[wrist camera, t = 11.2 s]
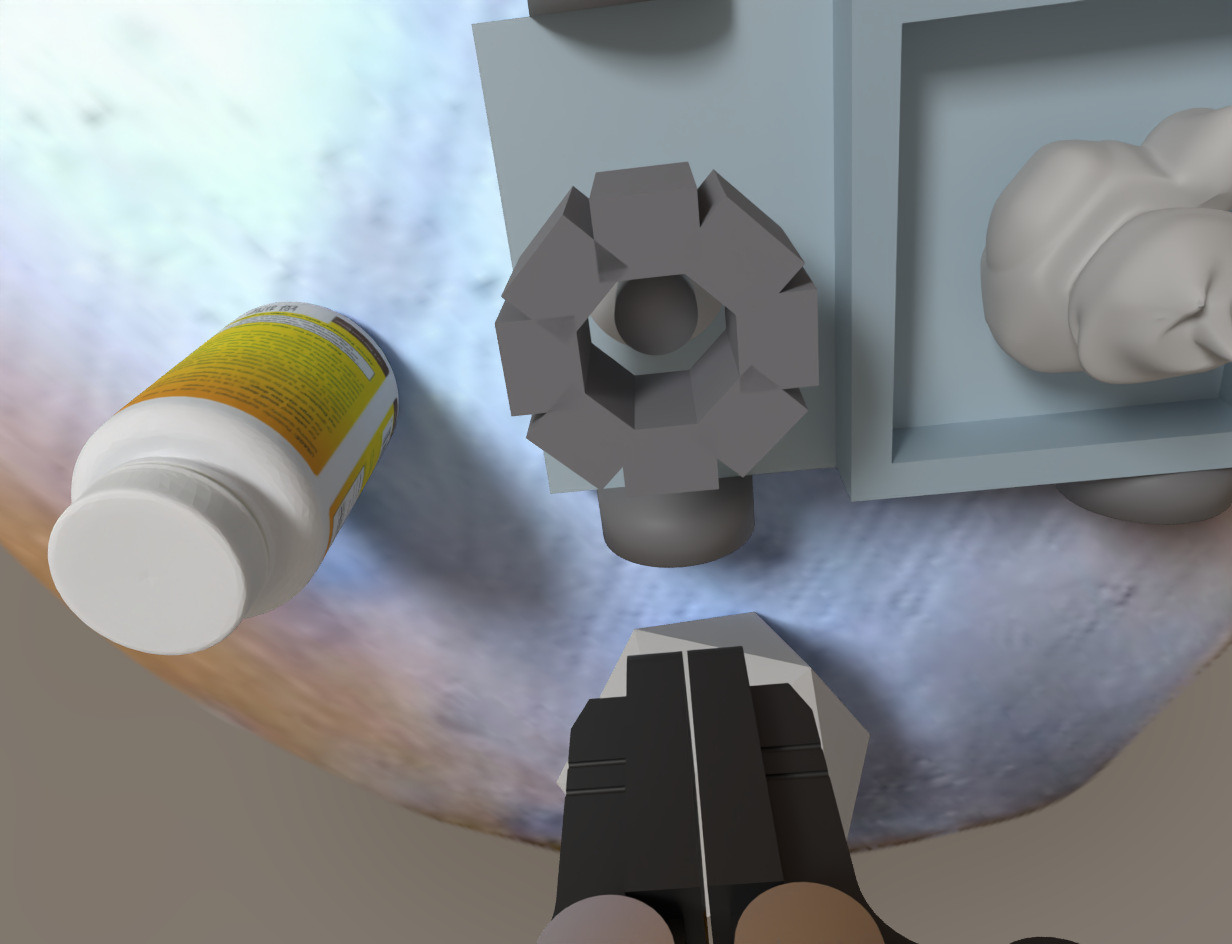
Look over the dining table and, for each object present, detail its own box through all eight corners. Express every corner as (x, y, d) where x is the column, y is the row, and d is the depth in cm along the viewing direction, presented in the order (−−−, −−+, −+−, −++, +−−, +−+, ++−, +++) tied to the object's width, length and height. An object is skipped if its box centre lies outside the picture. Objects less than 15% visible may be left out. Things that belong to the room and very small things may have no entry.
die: (649, 787, 35) (850, 984, 28) (467, 773, 29) (664, 1020, 22) (749, 593, 35) (981, 741, 27) (586, 537, 29) (828, 708, 21)
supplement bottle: (195, 299, 26) (-43, 456, 17) (387, 291, 26) (252, 445, 17) (241, 473, 29) (56, 691, 19) (417, 467, 28) (313, 684, 19)
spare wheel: (497, 183, 19) (474, 212, 16) (788, 149, 18) (815, 173, 16) (541, 444, 22) (528, 506, 19) (797, 420, 21) (820, 479, 18)
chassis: (476, -51, 22) (421, -72, 16) (1348, -170, 20) (1612, -237, 15) (564, 500, 29) (547, 617, 23) (1224, 439, 27) (1373, 548, 22)
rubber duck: (900, 271, 23) (1021, 391, 16) (1100, 24, 20) (1354, 32, 13) (1057, 383, 24) (1236, 542, 17) (1264, 164, 21) (1578, 242, 14)
